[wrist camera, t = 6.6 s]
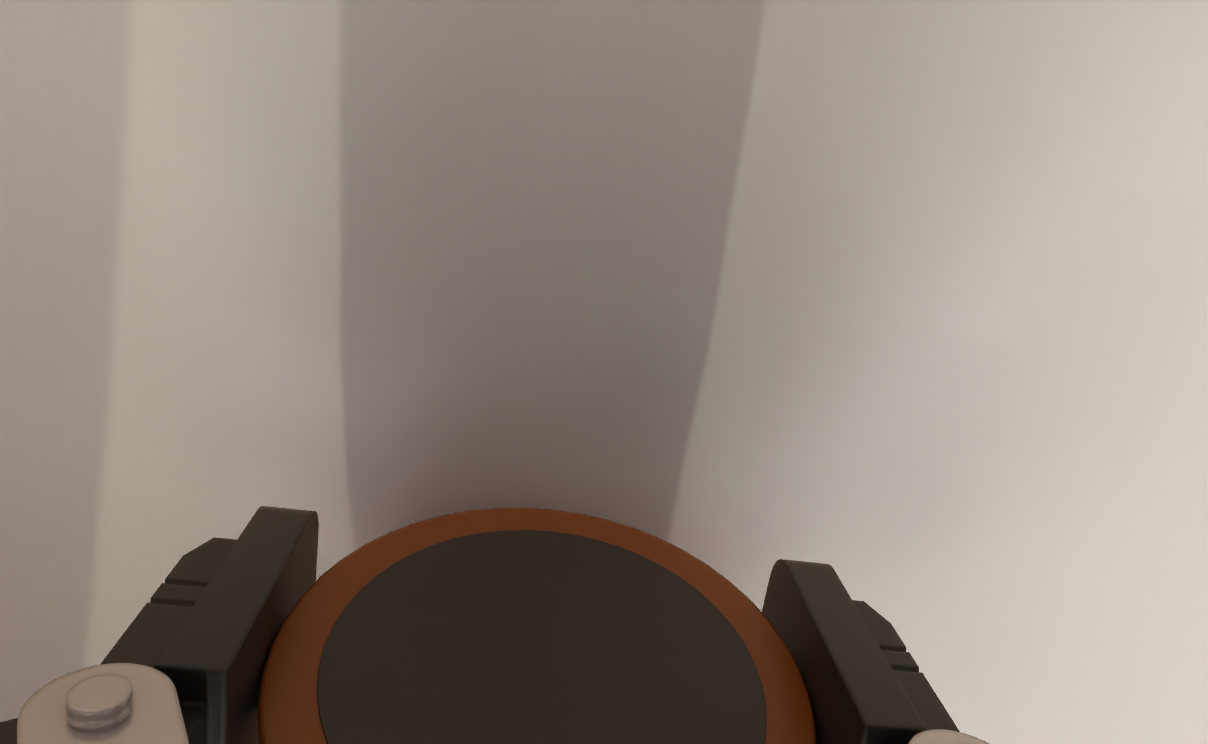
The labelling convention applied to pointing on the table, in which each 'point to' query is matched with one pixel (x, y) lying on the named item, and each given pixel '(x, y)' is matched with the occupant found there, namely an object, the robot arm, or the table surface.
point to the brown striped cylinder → (528, 643)
